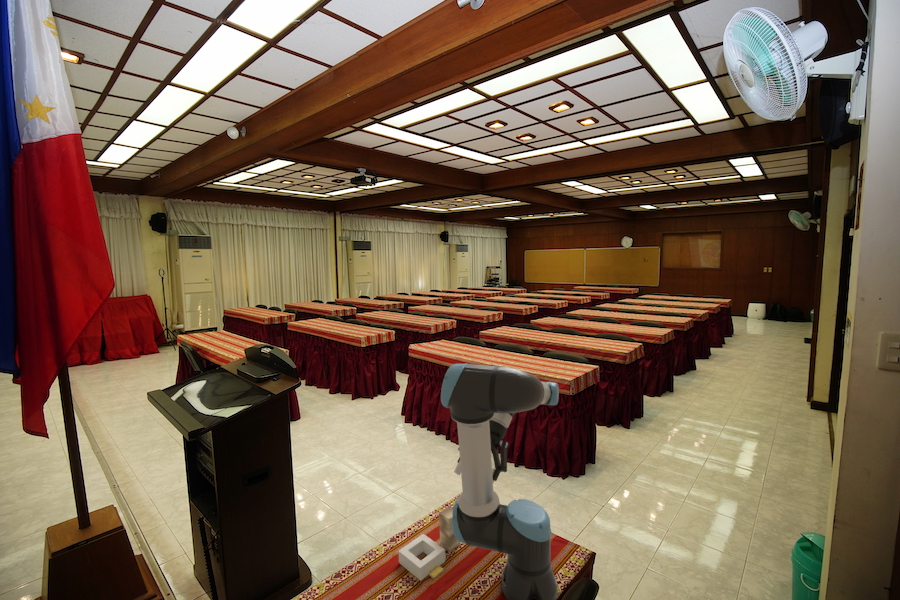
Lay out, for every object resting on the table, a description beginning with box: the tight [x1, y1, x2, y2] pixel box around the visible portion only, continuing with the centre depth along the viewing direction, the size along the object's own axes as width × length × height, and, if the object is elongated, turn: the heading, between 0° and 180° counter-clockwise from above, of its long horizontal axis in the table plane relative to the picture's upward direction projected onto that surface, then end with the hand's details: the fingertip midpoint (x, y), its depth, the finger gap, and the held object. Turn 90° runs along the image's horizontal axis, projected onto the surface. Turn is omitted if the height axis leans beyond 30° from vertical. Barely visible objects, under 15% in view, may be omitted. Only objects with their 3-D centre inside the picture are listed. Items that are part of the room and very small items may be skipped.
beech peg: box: [438, 506, 461, 552], centre depth 128 cm, size 4×4×11 cm
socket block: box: [398, 533, 446, 582], centre depth 120 cm, size 12×10×4 cm
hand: (471, 481), depth 135 cm, fingers open, 13 cm apart
